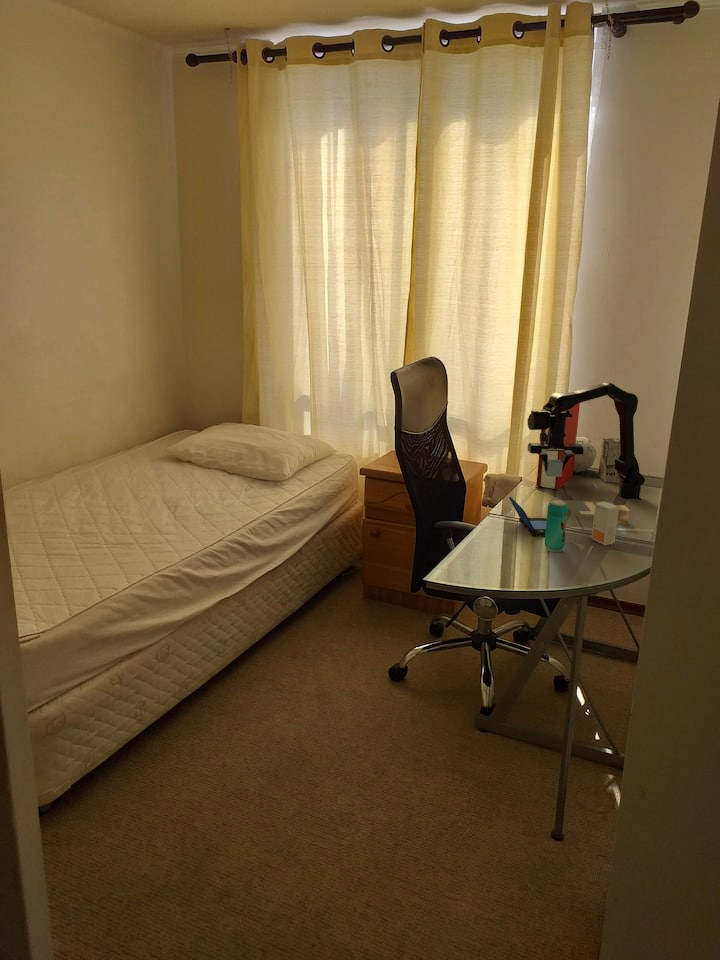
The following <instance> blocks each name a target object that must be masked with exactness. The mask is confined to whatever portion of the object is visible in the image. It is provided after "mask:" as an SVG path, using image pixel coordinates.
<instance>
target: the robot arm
mask: <svg viewBox="0 0 720 960" xmlns="http://www.w3.org/2000/svg"><path fill="white" fill-rule="evenodd" d="M607 396H608V397H609V398H610V399H611V400H613V403H614V408H615V410H616V413H617V415H618V418H619V419H618V420H619V440H620V456H619V458H618V459H615V470H616V471H617V473H618V474H619V476H620V480H621V481H620V482H621V483H620V484H619V489H618V495H619V496H620V497H621V498H623V499H628V500H638V501H641V500H642V498H641V497H640V496H641V495H640V494H641V487H642V485H644V484H645V481H646V477H644V476H643V475H642V474H641V470H640V465H639V462H638V461H639V460H638V459H637V457H636V455H635V434H634V433H635V428H634V422H635V421H634V417H635V414H636V412H637V410H638V405H639V404H638V403H639V399H638V398H639V397H638V396H637V395H636V394H634V393H631V392H628V391H625V390H623V389H621V388H620V387H619V386H617V385H615V383H612V382H608V381H605V382H601V383H600V384H596V385H592V386H589V387H585V388H583V389H577V390H575V391H571V392H570V391H562V392H553V393H552V394H550V396H549V399H548V401H547V403H545V404H546V405H545V404H544V405H545V406H544V405H543V406H544V408H543V407H542V409H541V410H530V414H529V415H528V418H527V427H528V429H529V430H530V431H540V433H539V442H529V443H528V444H527V451H528V452H529V453H530V454H533V455H536V454H537V455H538V457H539V456H541V458H542V461H543V465H544V469H545V472H547V462H548V455H547V454H546V451H562V460H561V462H562V463H563V467H562V471H563V469H564V467H565V465H566V463H567V462H568V461H569V459H570V458H571V457H574V455H573V453H574V454H578V455H582V454H583V451H584V449H583V447H582V446H581V445H580V444H569V446H565V445H564V440H565V436H566V434H565V429H566V418H567V417H573V415H572V414H571V413H570V412H569V411H568V410H569V409H571V408H573V407H574V406H575V405H577V404H579V403H580V404H581V403H584V402H587V401H591V400H595V399H599V398H602V397H607ZM552 408H553V410H552ZM547 428H549V430H548V434H547V435H546V433H542V432H541V430H546V429H547ZM540 442H545V445H547V446H542V445H541V444H540ZM552 448H554V449H552ZM557 448H561V449H557Z"/></svg>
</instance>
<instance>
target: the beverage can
mask: <svg viewBox="0 0 720 960" xmlns="http://www.w3.org/2000/svg"><path fill="white" fill-rule="evenodd" d="M564 500H565V499H558V498H557V499H550V500H549V501H548V502H549V503H548V505H547V514H546V519H547V522H546V533H545V536H544V546H545V549H546V551H548V552H551V553H561V552H562V550H563V549H564V547H565V544H566V543H565V541H566V532H567V523H568V522H567V521H568V512H569V509H568V506H567V502H566V501H564Z"/></svg>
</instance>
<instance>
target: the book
mask: <svg viewBox="0 0 720 960" xmlns="http://www.w3.org/2000/svg"><path fill="white" fill-rule="evenodd" d="M546 404H547V403H545V404H544V405H543V406H542V409H543V408H544V406H545V405H546ZM580 404H581V403H579V404H577V405H575V406H574V407H573V408H571V409H569V410H568V411H569V412H570V413H571V414H572V415H573V417H567V418H566V429H565V434H566V436H565V440H564V445H565V446H569V444H576V437H577V436H578V427H579V426H578V425H579V416H580V406H581V405H580ZM552 410H553V408H552ZM548 430H549V428H547V429H546V430H540V433H541V432H542V433H546V435H547V434H548ZM539 443H540V444H541V445H542V446H547V445H545V442H540V441H539ZM552 449H554V448H552ZM557 449H561V448H557ZM546 454H547V455H548V459H552V460H560V461H561V460H562V451H546ZM573 455H574V457H575V454H574V453H573ZM574 457H571V458H570V459H569V461H568V462H567V463H566V465H565V467H564V469H563V471H562V477H553V476H547V475H546V474H545V469H544V465H543V461H542V458H541V456H539V455H538V463H537V473H536V484H535V485H536V486H541V487H542V488H548V489H549V488H550V489H554V490H555V491H559V489H561V487H563V486H564V485H565V484H566V483H567V482H568V481H569V480H570V479H571V478H572V477H573V475H574V472H573V467H574ZM569 478H570V479H569ZM568 479H569V480H568Z"/></svg>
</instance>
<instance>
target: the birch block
mask: <svg viewBox="0 0 720 960" xmlns="http://www.w3.org/2000/svg"><path fill="white" fill-rule="evenodd" d="M615 506H617V507H619V511H618V519H617V525H629V522H630V521H629V520H630V511H631V510H630V509H629V508H628V507H627V506H626V505H624V504H623V505H622V504H621V505H618V504H615Z"/></svg>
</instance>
